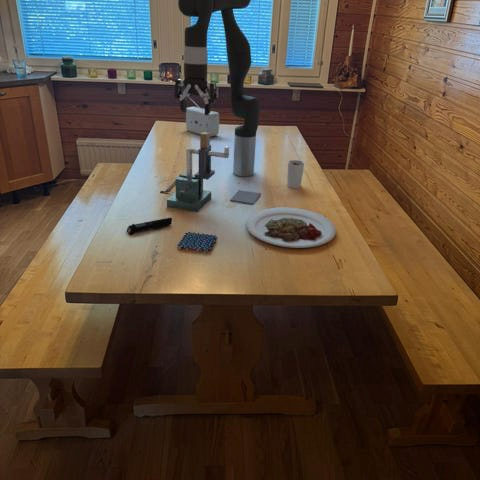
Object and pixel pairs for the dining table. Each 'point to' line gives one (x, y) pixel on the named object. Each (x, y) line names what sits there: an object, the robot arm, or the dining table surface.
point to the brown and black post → (204, 157)
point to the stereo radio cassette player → (202, 121)
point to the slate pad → (245, 197)
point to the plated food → (291, 227)
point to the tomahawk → (169, 187)
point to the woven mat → (197, 242)
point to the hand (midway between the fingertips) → (195, 113)
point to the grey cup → (295, 173)
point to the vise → (192, 186)
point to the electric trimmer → (148, 225)
